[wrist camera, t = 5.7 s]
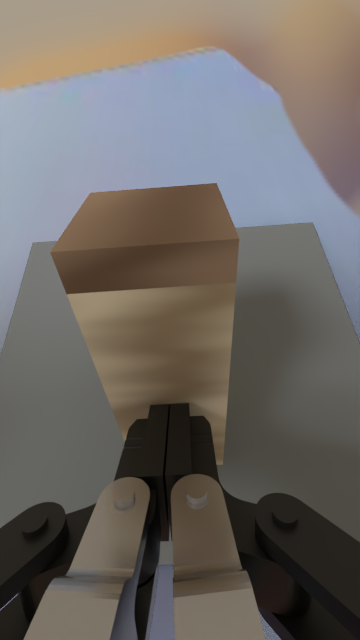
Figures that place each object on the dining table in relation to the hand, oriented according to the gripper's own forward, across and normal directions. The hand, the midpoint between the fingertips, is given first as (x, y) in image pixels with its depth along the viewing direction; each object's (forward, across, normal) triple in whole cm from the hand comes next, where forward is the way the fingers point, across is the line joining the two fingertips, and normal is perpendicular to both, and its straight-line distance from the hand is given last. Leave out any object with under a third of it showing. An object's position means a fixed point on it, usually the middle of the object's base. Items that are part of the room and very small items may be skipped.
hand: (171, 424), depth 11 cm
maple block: (+4, 0, +3) cm, 5 cm away
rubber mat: (+8, 0, 0) cm, 9 cm away
